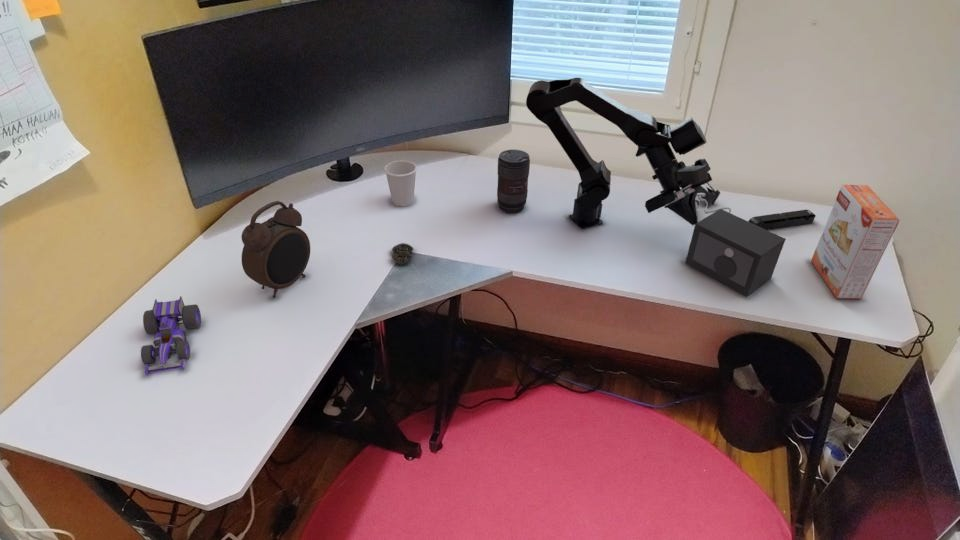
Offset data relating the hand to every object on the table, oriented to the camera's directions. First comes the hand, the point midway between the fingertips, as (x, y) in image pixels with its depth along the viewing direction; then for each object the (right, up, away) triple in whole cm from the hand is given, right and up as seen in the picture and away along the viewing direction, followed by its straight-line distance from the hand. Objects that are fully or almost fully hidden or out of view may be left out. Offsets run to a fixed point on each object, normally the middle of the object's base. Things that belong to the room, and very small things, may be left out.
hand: (695, 224), depth 144 cm
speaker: (+7, -11, -2) cm, 13 cm away
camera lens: (-42, +6, +20) cm, 47 cm away
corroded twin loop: (-68, -8, +1) cm, 69 cm away
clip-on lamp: (+8, +5, +19) cm, 21 cm away
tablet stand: (+26, +1, +14) cm, 30 cm away
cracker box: (+30, -13, -4) cm, 33 cm away
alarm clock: (-93, -14, -8) cm, 95 cm away
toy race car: (-110, -26, -23) cm, 116 cm away
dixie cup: (-71, +8, +22) cm, 74 cm away
